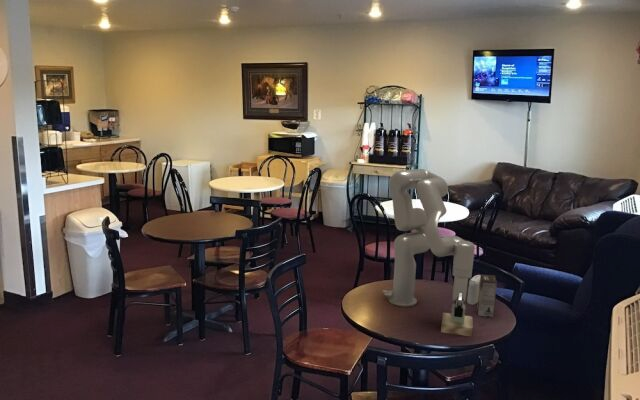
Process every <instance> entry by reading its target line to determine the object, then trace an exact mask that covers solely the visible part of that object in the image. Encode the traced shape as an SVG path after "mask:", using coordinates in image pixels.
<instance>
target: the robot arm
mask: <svg viewBox="0 0 640 400" xmlns="http://www.w3.org/2000/svg"><path fill="white" fill-rule="evenodd" d="M388 185H389V193H390V195H391V199H392V207H393V208H392V210H393V216H394V225H395V227H396V229H397V230H398V231H402V232H406V231H413V232H409V233H402V234H400V235H398V236H397V237H396V238H395V239H394V241H393V249H394V250H393V251H394V269H393V270H394V271H393V281H392V289H391V290H387V289H386V290H385V289H383V290H382V295H384V296H385V297H388V302H389V303H390V304H392V305H394V306H398V307H405V308H406V307H413V306H415V305H417V302H418V300H417V299H416V297H414V296H415V295H414V294H415V283H416V272H417V271H416V270H417V262H416V260H415V257H414V255H417V254H422V253H426V252H428V251H429V250H430V251H431V253H432V254H433V255H435V256H436V257H438V258H442V257H448V256H453V261H452V262H453V263H452V264H453V265H452V272H451V273H452V276H453V277H454V278H453V288H452V301H453V302H454V304H456V307H455V311H454V316H455V317H462V315H463V305H464V303H465V301H466V299H467V293H468V286H469V279H472V278H473V277H472V276H473V275H472V274H473V268H474V267H473V266H474V258H475V243H473V242H472V241H470V240H469V241H468V240H464V239H463V238H461V237H459V236H457V235H451V236H443V237H441V234H440V232H439V228H438V227H439V225H438V224H439V221H440V219H441V218H442V217H444V216H445V214H446V213H447V208H446V205H445V204H444V201H443V199H442V198H443V197H445V196H446V195H447V194H448V191H449V186H448V185H449V184H448V183H447V181H446V180H445V179H444V178H442V177H441V176H439V175H437V174H435V173H433V172H431V171H430V170H426V169H424V168H416V169H415V168H413V169H402V170H399V171H396V172H395V173H393V174H392V175H391V177H390V179H389V184H388ZM414 189H415V191H416V193H417V195H418V199H419V200H420V203H421V205H422V208H420V207H414V206H413V201H412V200H413V199H412V197H411V194H410V193H409V192H408V190H414Z"/></svg>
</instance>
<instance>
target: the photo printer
mask: <svg viewBox="0 0 640 400" xmlns="http://www.w3.org/2000/svg"><path fill="white" fill-rule="evenodd" d="M480 276H481V274H477V275H474V276H473V277H471V278H470V279H469V280H468V285H467V295H466V303H467V304H468V305H471V306H473V305H477V304H478V295H479V286H480Z"/></svg>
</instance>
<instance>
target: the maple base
mask: <svg viewBox="0 0 640 400" xmlns="http://www.w3.org/2000/svg"><path fill="white" fill-rule="evenodd" d="M441 316H442V317H441V329H440V333H443V334H451V335H458V336H465V337H473V331H474V325H473V324H474V323H473V322H474V321H473V316H470V315H465V318H464V323H456V322H451V313H450V312H442V315H441Z"/></svg>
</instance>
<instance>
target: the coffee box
mask: <svg viewBox="0 0 640 400" xmlns="http://www.w3.org/2000/svg"><path fill="white" fill-rule="evenodd" d="M480 275H481V276H480V286H479V295H478V303H476V306H477V314H478V316H480V317H487V316H489V317H488V318H493V317H494V309H495V301H496V293H497V283H498V282H497V277H496V275H494V274H493V275H492V274H480Z"/></svg>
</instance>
